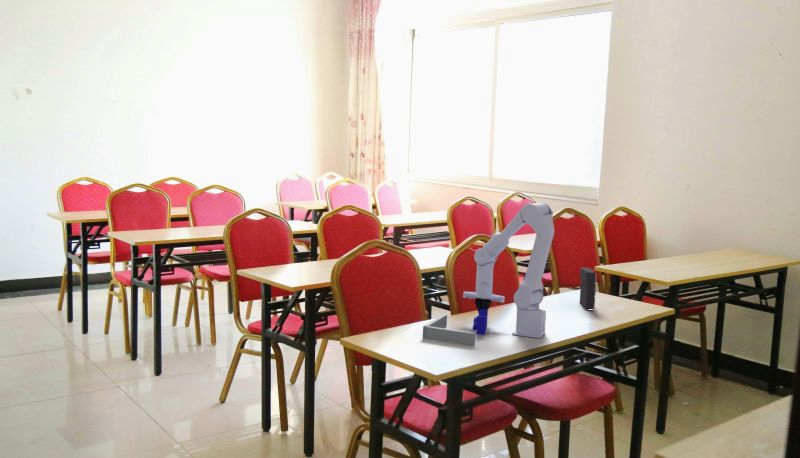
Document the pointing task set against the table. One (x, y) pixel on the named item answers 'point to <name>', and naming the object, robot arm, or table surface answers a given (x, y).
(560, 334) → the table surface
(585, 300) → the dark grey rectangular block
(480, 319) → the cable clip
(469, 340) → the corner bracket
